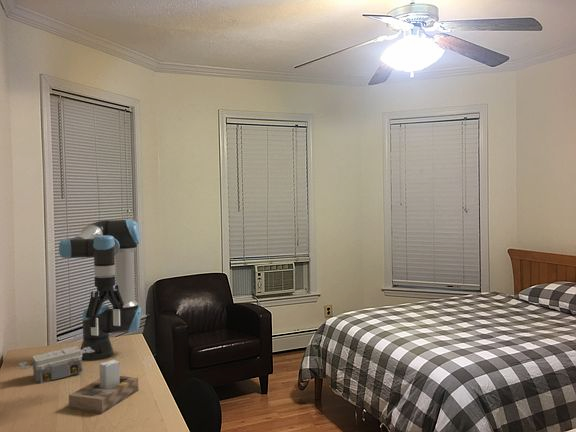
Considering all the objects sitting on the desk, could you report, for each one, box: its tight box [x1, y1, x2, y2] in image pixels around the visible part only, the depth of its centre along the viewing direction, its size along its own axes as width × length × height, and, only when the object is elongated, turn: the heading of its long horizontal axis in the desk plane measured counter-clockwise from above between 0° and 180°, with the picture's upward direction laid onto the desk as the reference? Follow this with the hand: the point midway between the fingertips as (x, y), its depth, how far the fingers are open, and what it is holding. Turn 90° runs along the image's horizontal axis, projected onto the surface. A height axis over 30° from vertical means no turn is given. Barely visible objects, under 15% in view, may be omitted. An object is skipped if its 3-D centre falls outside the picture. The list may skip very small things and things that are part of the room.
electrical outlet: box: [18, 345, 94, 384], centre depth 215 cm, size 12×28×10 cm, turn 126°
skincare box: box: [99, 359, 121, 390], centre depth 192 cm, size 6×4×12 cm
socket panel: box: [68, 375, 139, 415], centre depth 190 cm, size 22×14×5 cm, turn 163°
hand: (106, 330), depth 196 cm, fingers open, 13 cm apart
